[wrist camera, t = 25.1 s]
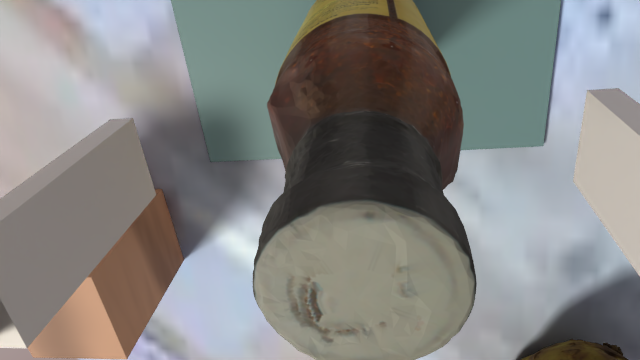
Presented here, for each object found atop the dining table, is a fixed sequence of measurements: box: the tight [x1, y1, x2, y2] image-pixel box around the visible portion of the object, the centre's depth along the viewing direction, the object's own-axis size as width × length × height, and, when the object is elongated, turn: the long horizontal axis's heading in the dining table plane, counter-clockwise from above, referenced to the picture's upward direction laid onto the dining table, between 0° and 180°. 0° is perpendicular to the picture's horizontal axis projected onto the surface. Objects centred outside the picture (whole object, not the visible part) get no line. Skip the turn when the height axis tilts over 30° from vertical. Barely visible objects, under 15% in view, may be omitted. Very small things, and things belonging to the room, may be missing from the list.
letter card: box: [171, 0, 561, 162], centre depth 26 cm, size 20×14×1 cm
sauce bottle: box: [253, 0, 476, 360], centre depth 17 cm, size 7×6×20 cm
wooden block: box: [28, 189, 184, 359], centre depth 30 cm, size 6×6×9 cm
